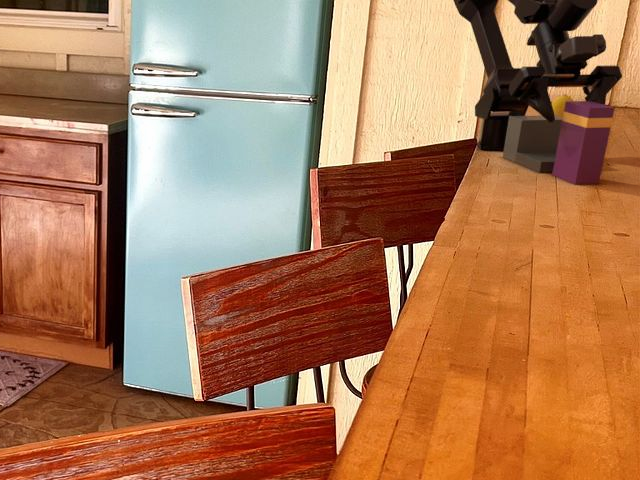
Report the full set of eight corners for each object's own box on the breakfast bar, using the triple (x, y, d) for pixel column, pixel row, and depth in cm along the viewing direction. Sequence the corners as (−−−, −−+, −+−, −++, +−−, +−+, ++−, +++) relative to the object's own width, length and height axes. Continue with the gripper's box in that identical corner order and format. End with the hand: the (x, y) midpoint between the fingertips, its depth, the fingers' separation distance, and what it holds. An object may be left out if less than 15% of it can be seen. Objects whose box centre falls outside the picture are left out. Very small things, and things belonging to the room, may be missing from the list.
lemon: (566, 128, 206) (573, 92, 203) (574, 132, 201) (581, 96, 198) (542, 127, 206) (548, 92, 203) (549, 132, 201) (556, 95, 198)
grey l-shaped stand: (502, 157, 175) (509, 116, 172) (549, 156, 177) (557, 115, 173) (539, 172, 163) (547, 128, 159) (589, 171, 164) (598, 127, 161)
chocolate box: (574, 184, 154) (590, 107, 149) (551, 175, 161) (565, 101, 156) (599, 183, 155) (615, 107, 149) (575, 174, 162) (589, 100, 156)
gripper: (528, 17, 153) (550, 92, 148) (627, 17, 156) (653, 90, 150) (499, 61, 164) (519, 132, 158) (592, 60, 166) (615, 129, 160)
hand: (577, 120), depth 156 cm, fingers open, 9 cm apart
